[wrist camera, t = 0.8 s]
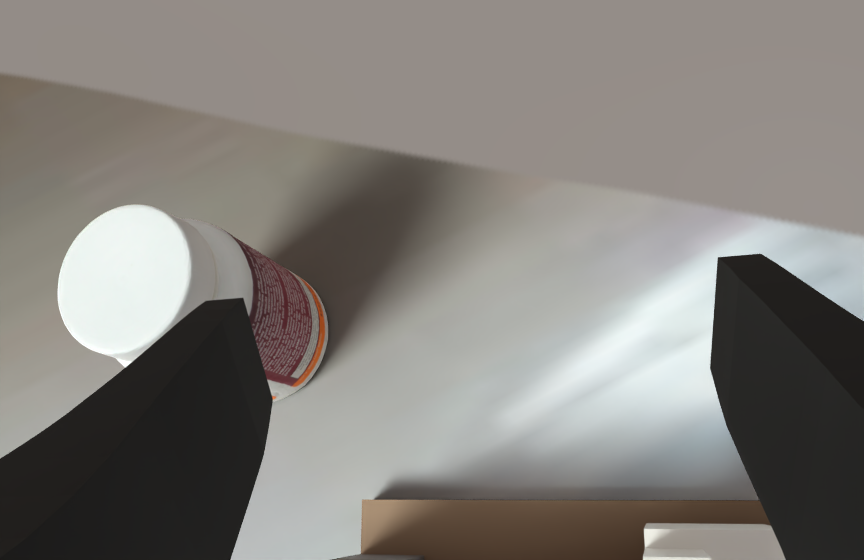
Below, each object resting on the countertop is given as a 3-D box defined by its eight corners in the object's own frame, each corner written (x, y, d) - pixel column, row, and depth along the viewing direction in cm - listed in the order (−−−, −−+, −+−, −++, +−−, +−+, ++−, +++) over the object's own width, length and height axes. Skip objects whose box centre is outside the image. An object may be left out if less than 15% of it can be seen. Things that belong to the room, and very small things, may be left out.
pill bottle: (294, 246, 29) (161, 154, 21) (355, 356, 28) (235, 300, 20) (187, 319, 30) (18, 254, 22) (241, 432, 28) (79, 405, 20)
